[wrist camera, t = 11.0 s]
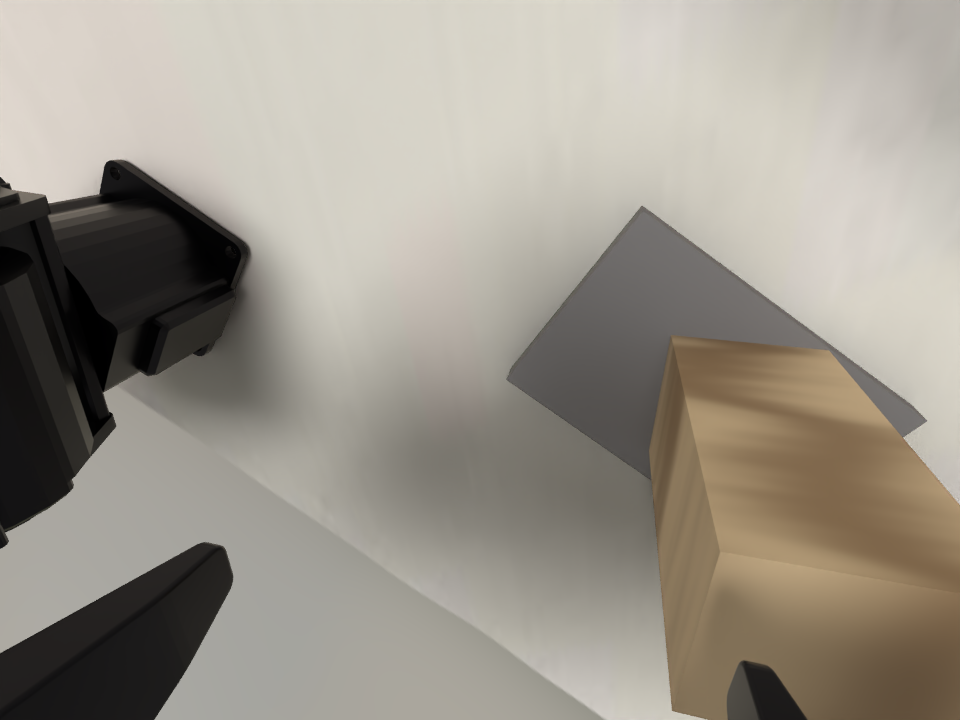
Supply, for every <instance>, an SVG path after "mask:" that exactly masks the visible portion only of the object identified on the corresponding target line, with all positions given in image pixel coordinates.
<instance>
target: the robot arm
mask: <svg viewBox="0 0 960 720" xmlns="http://www.w3.org/2000/svg"><path fill="white" fill-rule="evenodd" d="M118 170H119V172H120V174H121V176H120V175H119V173H118ZM231 247H232V248H233V249H234V250H235V252H236V255H235V254H234V253H233V252H232V250H231ZM246 258H247V249H246V247H245V245H244V243H242V242H241V241H240V240H239V239H237V238H236V237H235V236H233V235H232V234H230V233H229V232H227V231H226V230H224V229H223V228H221V227H220V226H219V225H217V224H216V223H214V222H213V221H211V220H210V219H208V218H207V217H206V216H204V215H203V214H201V213H200V212H198V211H197V210H195V209H194V208H192V207H191V206H190V205H188V204H187V203H185V202H184V201H182V200H181V199H179V198H178V197H176V196H175V195H174V194H172V193H171V192H169V191H168V190H166V189H165V188H163V187H162V186H160V185H159V184H158V183H156V182H155V181H153V180H152V179H150V178H149V177H147V176H146V175H144V174H143V173H142V172H140V171H139V170H137V169H136V168H134V167H133V166H131V165H130V164H128V163H127V162H125V161H123V160H110V161H108V162H106V164H105V167H104V172H103V177H102V183H101V188H100V193H99V195H93V196H88V197H82V198H77V199H71V200H66V201H60V202H55V203H49V204H48V201H47V198H46V195H42V194H35V193H28V192H21V191H15V190H12V189H11V186H10V183H6V182H5V181H4V180H3V179H2V178H1V177H0V549H1V548H3V547H4V546H5V545H7V543H8V542H9V540H8V538H7V536H6V534H5V532H7V531H9V530H12V529H14V528H16V527H17V526H19V525H21V524H23V523H25V522H27V521H29V520H30V519H31V518H33V517H34V516H36V515H37V514H39V513H41V512H43V511H45V510H47V509H48V508H50V507H51V506H52V505H54V504H55V503H56V502H58V501H59V500H60V499H62V498H63V497H64V496H66V495H67V494H68V493H69V492H70V491H71V490H72V489H73V486H74V484H73V481H72V478H73V477H75V476H76V474H77V473H78V472H79V470H80V469H81V468H82V467H83V465H84V464H85V463H86V461H87V460H88V459H89V458H90V456H92V454H93V453H94V452H95V451H96V450H97V449H98V447H99V446H100V445H101V444H102V443H103V442H104V440H105V439H106V438H107V437H108V436H109V435H110V433H111V432H112V431H113V430H114V429H115V427H116V423H115V420H114V417H113V414H112V413H111V412H109V411H108V408H107V404H106V401H105V398H104V394H103V392H105V391H107V390H109V389H110V388H112V387H114V386H116V385H117V384H119V383H121V382H123V381H124V380H126V379H128V378H130V377H131V376H133V375H135V374H137V373H138V372H142V373H144V374H145V375H147V376H152V375H157V374H158V373H160V372H162V371H163V370H165V369H167V368H168V367H170V366H172V365H173V364H175V363H177V362H179V361H180V360H182V359H184V358H185V357H187V356H189V355H190V354H192V353H193V354H195V355H197V356H203V355H205V354H207V353H208V352H210V351H211V349H212V347H213V345H214V342H215V339H217V338H219V337H220V336H221V335H222V332H223V330H224V327H225V324H226V322H227V319H228V317H229V314H230V311H231V309H232V306H233V304H234V301H235V298H236V293H235V290H234V289H235V287H236V284H237V281H238V279H239V276H240V274H241V271H242V268H243V266H244V263H245V260H246ZM232 582H233V573H232V569H231V566H230V562H229V559H228V556H227V552H226V550H225V548H224V547H223V546H221V545H217V544H212V543H207V542H203V543H200V544H197V545H195V546H194V547H192V548H190V549H188V550H186V551H185V552H183V553H181V554H179V555H177V556H175V557H174V558H172V559H170V560H168V561H166V562H165V563H163V564H161V565H159V566H157V567H156V568H154V569H152V570H150V571H148V572H147V573H145V574H143V575H141V576H139V577H138V578H136V579H134V580H132V581H130V582H128V583H127V584H125V585H123V586H121V587H119V588H118V589H116V590H114V591H112V592H110V593H109V594H107V595H105V596H103V597H101V598H99V599H98V600H96V601H94V602H92V603H90V604H89V605H87V606H85V607H83V608H81V609H80V610H78V611H76V612H74V613H73V614H71V615H69V616H67V617H65V618H64V619H62V620H60V621H58V622H56V623H54V624H52V625H51V626H49V627H47V628H45V629H43V630H42V631H40V632H38V633H36V634H34V635H33V636H31V637H29V638H27V639H25V640H24V641H22V642H20V643H18V644H16V645H15V646H13V647H11V648H9V649H7V650H5V651H4V652H2V653H0V720H154V719H155V718H156V716H157V715H158V713H159V712H160V710H161V709H162V707H163V705H164V704H165V702H166V701H167V699H168V698H169V696H170V695H171V693H172V692H173V690H174V689H175V687H176V686H177V684H178V683H179V681H180V679H181V678H182V676H183V675H184V673H185V671H186V670H187V668H188V666H189V665H190V663H191V661H192V659H193V657H194V656H195V654H196V652H197V650H198V648H199V647H200V645H201V643H202V641H203V639H204V637H205V635H206V634H207V632H208V630H209V628H210V626H211V624H212V622H213V621H214V619H215V617H216V615H217V613H218V611H219V609H220V608H221V606H222V604H223V602H224V600H225V598H226V596H227V595H228V593H229V591H230V589H231V586H232ZM727 718H728V720H808V719H807V718H806V716H805V715H804V713H803V712H802V710H801V709H800V708H799V706H798V705H797V703H796V702H795V700H794V699H793V697H792V696H791V695H790V693H789V692H788V690H787V689H786V687H785V686H784V684H783V683H782V681H781V680H780V679H779V677H778V676H777V674H776V673H775V672H774V670H773V669H772V668H770V667H769V666H767V665H765V664H760V663H756V662H751V661H747V660H742V661H741V662H739V664H738V666H737V668H736V671H735V674H734V676H733V679H732V681H731V684H730V687H729V689H728V693H727Z"/></svg>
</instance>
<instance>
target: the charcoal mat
mask: <svg viewBox="0 0 960 720" xmlns="http://www.w3.org/2000/svg"><path fill="white" fill-rule="evenodd" d="M671 335H676V336H686V337H697V338H707V339H717V340H728V341H738V342H748V343H759V344H769V345H779V346H790V347H800V348H811V349H821V350H829V351H830V352H831V353H832V355H833V356H834V357H835V358H836V359H837V360H838V362H839V363H840V364H841V365H842V366H843V368H844V369H845V370H846V371H847V372H848V373H849V375H850V376H851V377H852V378H853V379H854V381H855V382H856V383H857V384H858V385H859V386H860V388H861V389H862V390H863V391H864V392H865V394H866V395H867V396H868V397H869V398H870V400H871V401H872V402H873V403H874V404H875V405H876V407H877V408H878V409H879V410H880V411H881V413H882V414H883V415H884V416H885V417H886V418H887V420H888V421H889V422H890V423H891V424H892V426H893V427H894V428H895V429H896V430H897V432H898V433H899V434H900V435H901V436H902V437H904V436H906V435H907V434H909V433H910V432H912V431H913V430H915V429H916V428H918V427H919V426H921V425H922V424H924V423H925V422H927V420H926V419H925V418H924V417H923V416H922V415H921V414H920V413H919V412H918V411H917V410H916V409H915V408H914V407H913V406H912V405H911V404H910V403H908V402H907V401H905V400H904V399H903V398H901V397H900V396H899V395H897V394H896V393H895V392H893V391H892V390H891V389H889V388H888V387H887V386H885V385H884V384H883V383H881V382H880V381H878V380H877V379H876V378H874V377H873V376H872V375H870V374H869V373H868V372H866V371H865V370H864V369H862V368H861V367H860V366H858V365H857V364H855V363H854V362H853V361H851V360H850V359H849V358H847V357H846V356H845V355H843V354H842V353H841V352H839V351H838V350H837V349H835V348H834V347H832V346H831V345H830V344H828V343H827V342H826V341H824V340H823V339H822V338H820V337H819V336H818V335H816V334H815V333H814V332H812V331H811V330H810V329H808V328H807V327H805V326H804V325H803V324H801V323H800V322H799V321H797V320H796V319H795V318H793V317H792V316H791V315H789V314H788V313H787V312H785V311H784V310H782V309H781V308H780V307H778V306H777V305H776V304H774V303H773V302H772V301H770V300H769V299H768V298H766V297H765V296H764V295H762V294H761V293H759V292H758V291H757V290H755V289H754V288H753V287H751V286H750V285H749V284H747V283H746V282H745V281H743V280H742V279H741V278H739V277H738V276H737V275H735V274H734V273H732V272H731V271H730V270H728V269H727V268H726V267H724V266H723V265H722V264H720V263H719V262H718V261H716V260H715V259H714V258H712V257H711V256H709V255H708V254H707V253H705V252H704V251H703V250H701V249H700V248H699V247H697V246H696V245H695V244H693V243H692V242H691V241H689V240H688V239H687V238H685V237H684V236H682V235H681V234H680V233H678V232H677V231H676V230H674V229H673V228H672V227H670V226H669V225H668V224H666V223H665V222H664V221H662V220H661V219H659V218H658V217H657V216H655V215H654V214H653V213H651V212H650V211H649V210H647V209H646V208H645V207H643V206H641V208H640V209H639V210H638V211H637V213H636V214H635V215H634V216H633V218H632V219H631V220H630V221H629V223H628V224H627V225H626V226H625V228H624V229H623V230H622V231H621V233H620V234H619V235H618V236H617V237H616V239H615V240H614V241H613V242H612V244H611V245H610V246H609V247H608V249H607V250H606V251H605V252H604V254H603V255H602V256H601V257H600V259H599V260H598V261H597V262H596V264H595V265H594V266H593V267H592V268H591V270H590V271H589V272H588V273H587V275H586V276H585V277H584V278H583V280H582V281H581V282H580V283H579V285H578V286H577V287H576V288H575V290H574V291H573V292H572V293H571V295H570V296H569V297H568V298H567V299H566V301H565V302H564V303H563V304H562V306H561V307H560V308H559V309H558V311H557V312H556V313H555V314H554V316H553V317H552V318H551V319H550V321H549V322H548V323H547V324H546V326H545V327H544V328H543V329H542V331H541V332H540V333H539V334H538V335H537V337H536V338H535V339H534V340H533V342H532V343H531V344H530V345H529V347H528V348H527V349H526V350H525V352H524V353H523V354H522V355H521V357H520V358H519V359H518V360H517V362H516V363H515V364H514V365H513V366H512V368H511V370H510V372H509V375H508V377H507V380H508V381H509V382H510V383H512V384H513V385H515V386H516V387H518V388H519V389H520V390H522V391H523V392H525V393H526V394H528V395H529V396H531V397H532V398H533V399H535V400H536V401H538V402H539V403H541V404H542V405H544V406H545V407H546V408H548V409H549V410H551V411H552V412H554V413H555V414H556V415H558V416H559V417H561V418H562V419H564V420H565V421H567V422H568V423H569V424H571V425H572V426H574V427H575V428H577V429H578V430H579V431H581V432H582V433H584V434H585V435H587V436H588V437H590V438H591V439H592V440H594V441H595V442H597V443H598V444H600V445H601V446H603V447H604V448H605V449H607V450H608V451H610V452H611V453H613V454H614V455H615V456H617V457H618V458H620V459H621V460H623V461H624V462H626V463H627V464H628V465H630V466H631V467H633V468H634V469H636V470H637V471H638V472H640V473H641V474H643V475H644V476H646V477H647V478H649V479H650V480H651V468H650V457H649V447H650V442H651V437H652V432H653V426H654V421H655V416H656V411H657V406H658V400H659V395H660V390H661V385H662V379H663V374H664V369H665V364H666V359H667V353H668V348H669V343H670V338H671ZM651 481H652V480H651Z"/></svg>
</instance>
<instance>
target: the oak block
mask: <svg viewBox="0 0 960 720" xmlns="http://www.w3.org/2000/svg"><path fill="white" fill-rule="evenodd" d="M649 457H650V468H651V480H652V491H653V502H654V513H655V525H656V536H657V547H658V558H659V569H660V581H661V592H662V603H663V614H664V625H665V637H666V648H667V659H668V670H669V681H670V693H671V704H672V711H675V712H679V713H683V714H687V715H691V716H696V717H700V718H704V719H708V720H728V718H727V693H728V689H729V687H730V684H731V681H732V679H733V676H734V674H735V671H736V668H737V666H738V664H739V662H741V661H742V660H747V661H751V662H756V663H760V664H765V665H767V666H769V667H770V668H772V669H773V670H774V672H775V673H776V674H777V676H778V677H779V679H780V680H781V681H782V683H783V684H784V686H785V687H786V689H787V690H788V692H789V693H790V695H791V696H792V697H793V699H794V700H795V702H796V703H797V705H798V706H799V708H800V709H801V710H802V712H803V713H804V715H805V716H806V718H807V719H808V720H960V505H959V504H958V503H957V501H956V500H955V499H954V498H953V497H952V495H951V494H950V493H949V492H948V491H947V490H946V488H945V487H944V486H943V485H942V484H941V482H940V481H939V480H938V479H937V478H936V477H935V475H934V474H933V473H932V472H931V471H930V469H929V468H928V467H927V466H926V465H925V463H924V462H923V461H922V460H921V459H920V458H919V456H918V455H917V454H916V453H915V452H914V450H913V449H912V448H911V447H910V446H909V445H908V443H907V442H906V441H905V440H904V439H903V437H902V436H901V435H900V434H899V433H898V432H897V430H896V429H895V428H894V427H893V426H892V424H891V423H890V422H889V421H888V420H887V418H886V417H885V416H884V415H883V414H882V413H881V411H880V410H879V409H878V408H877V407H876V405H875V404H874V403H873V402H872V401H871V400H870V398H869V397H868V396H867V395H866V394H865V392H864V391H863V390H862V389H861V388H860V386H859V385H858V384H857V383H856V382H855V381H854V379H853V378H852V377H851V376H850V375H849V373H848V372H847V371H846V370H845V369H844V368H843V366H842V365H841V364H840V363H839V362H838V360H837V359H836V358H835V357H834V356H833V355H832V353H831V352H830V351H829V350H821V349H811V348H800V347H790V346H779V345H769V344H759V343H748V342H738V341H728V340H717V339H707V338H697V337H686V336H676V335H671V338H670V343H669V348H668V353H667V359H666V364H665V369H664V374H663V379H662V385H661V390H660V395H659V400H658V406H657V411H656V416H655V421H654V426H653V432H652V437H651V442H650V447H649Z"/></svg>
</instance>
